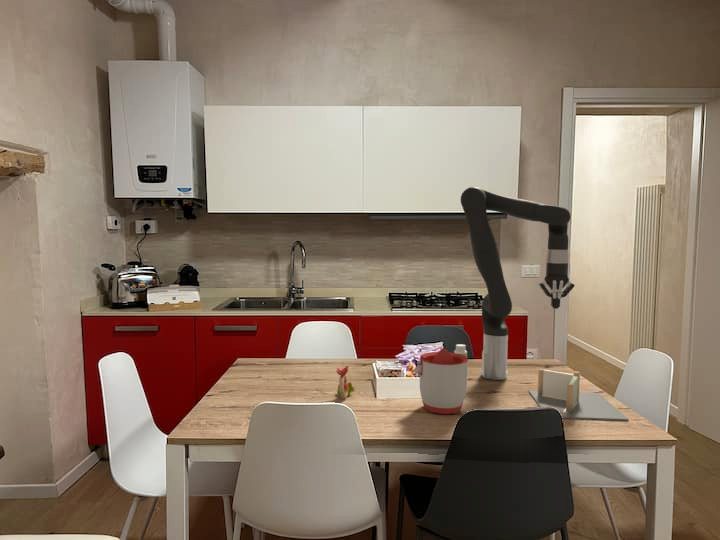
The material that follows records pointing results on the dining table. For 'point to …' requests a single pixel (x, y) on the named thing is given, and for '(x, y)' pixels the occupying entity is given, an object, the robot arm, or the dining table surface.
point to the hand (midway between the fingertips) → (555, 308)
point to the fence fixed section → (555, 383)
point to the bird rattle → (344, 384)
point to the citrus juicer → (442, 381)
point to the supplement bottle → (461, 349)
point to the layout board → (582, 407)
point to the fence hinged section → (571, 394)
